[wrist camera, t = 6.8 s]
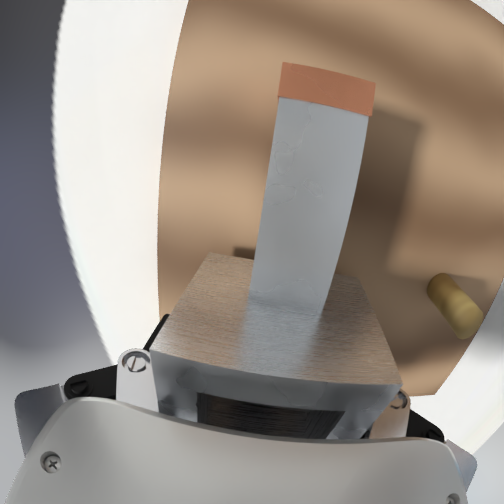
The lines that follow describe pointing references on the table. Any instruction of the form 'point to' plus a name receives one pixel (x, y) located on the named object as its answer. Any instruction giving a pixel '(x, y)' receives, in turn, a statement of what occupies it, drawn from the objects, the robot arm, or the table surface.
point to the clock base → (372, 164)
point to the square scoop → (287, 290)
